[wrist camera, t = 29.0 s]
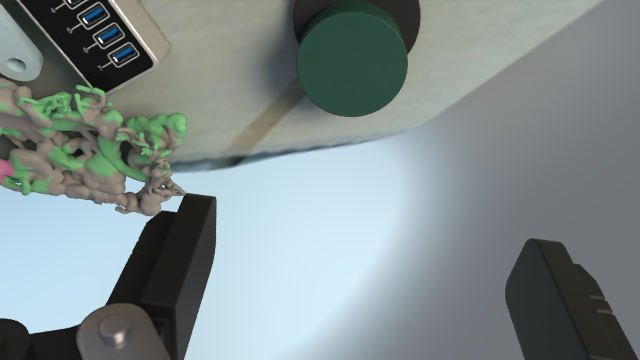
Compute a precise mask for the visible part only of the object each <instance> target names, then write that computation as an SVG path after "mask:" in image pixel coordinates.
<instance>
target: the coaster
mask: <svg viewBox="0 0 640 360" xmlns="http://www.w3.org/2000/svg"><path fill="white" fill-rule="evenodd" d="M342 1H363V2H367V3H370V4H373V5H375V6H378V7H379V8H381V9H382V10H384V11H385V12H386V13H388V14H389V15H390V16H391V17H392V18H393V20H394V21H395V22H396V24H397V25H398V27H399V29H400V31H401V34H402V37H403V40H404V44H405V48H406V53H407V55H408V53H409V52H410V50H411V49H412V47H413V45H414V43H415V41H416V38H417V35H418V32H419V27H420V18H421V17H420V6H419V0H296V4H295V9H294V18H293V20H294V30H295V35H296V38H297V42H298V44H299V45H300V41H301V37H302V34H303V32H304V30H305V28H306V26H307V25H308V23H309V22H310V21H311V19H312V18H313V17H314V16H315V15H316V14H317V13H319V12H320V11H321V10H323V9H324V8H326V7H328V6H330V5H333V4H335V3H339V2H342Z"/></svg>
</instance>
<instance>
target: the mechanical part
mask: <svg viewBox="0 0 640 360" xmlns="http://www.w3.org/2000/svg"><path fill="white" fill-rule="evenodd" d="M14 58H16V59H19V60H21V61H23V62H19V61H17V60H15V59H14ZM43 62H44V59H43V56H42V54H41V52H40V51H39V50H38V48H37V47H36V46H35V45H34V44H33V42H32V41H31V40H30V39H29V38H28V36H27V35H26V34H25V33H24V32H23V30H22V29H21V28H20V27H19V25H18V24H17V23H16V22H15V21H14V19H13V18H12V17H11V16H10V15H9V13H8V12H7V11H6V10H5V9H4V7H3V6H2V5H1V4H0V73H1V74H3V75H5V76H6V77H8V78H11V79H14V80H18V81H31V80H34V79H36V78H37V77H38V76H39V74H40V71H41V69H42V66H43Z"/></svg>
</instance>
